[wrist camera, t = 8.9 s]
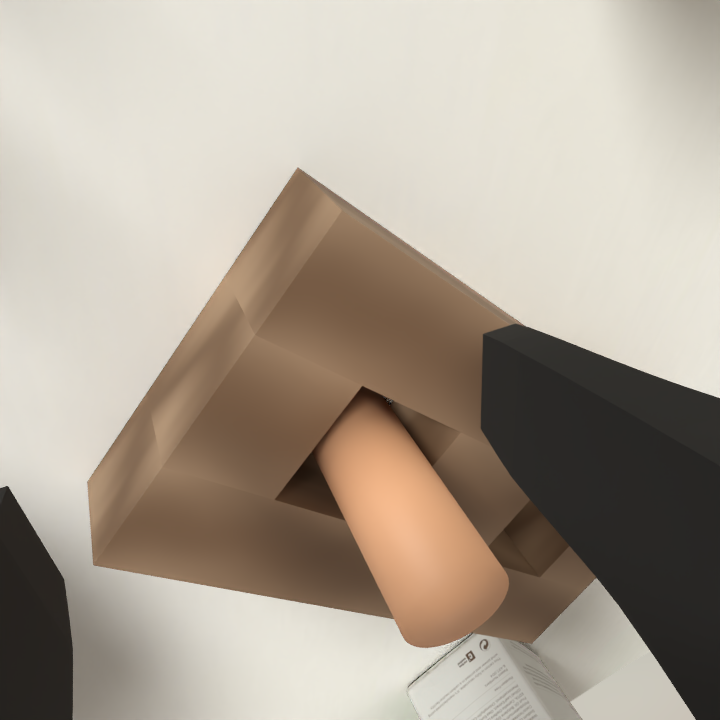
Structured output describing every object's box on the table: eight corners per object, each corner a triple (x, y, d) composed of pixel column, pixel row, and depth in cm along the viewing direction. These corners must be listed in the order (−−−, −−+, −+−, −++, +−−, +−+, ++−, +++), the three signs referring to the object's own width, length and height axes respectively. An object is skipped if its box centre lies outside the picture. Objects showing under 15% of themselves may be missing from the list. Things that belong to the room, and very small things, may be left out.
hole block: (493, 586, 34) (531, 643, 31) (87, 481, 21) (93, 565, 18) (652, 414, 31) (709, 461, 28) (297, 167, 18) (342, 210, 15)
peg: (341, 442, 24) (458, 651, 17) (276, 419, 22) (377, 641, 15) (388, 380, 23) (530, 574, 16) (325, 351, 22) (454, 554, 15)
